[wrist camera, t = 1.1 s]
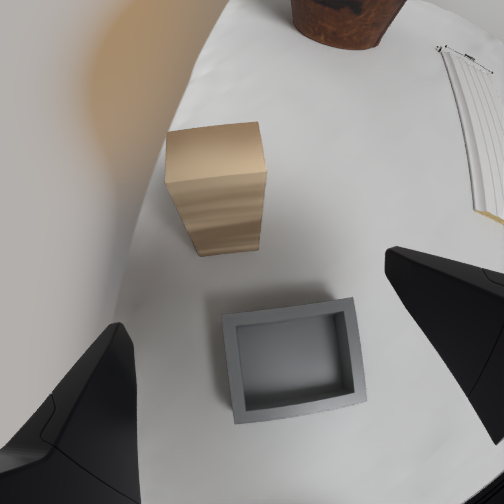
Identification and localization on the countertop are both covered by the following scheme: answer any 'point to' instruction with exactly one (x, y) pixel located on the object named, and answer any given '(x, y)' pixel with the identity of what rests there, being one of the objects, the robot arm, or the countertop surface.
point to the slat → (218, 185)
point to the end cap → (293, 360)
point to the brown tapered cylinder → (345, 21)
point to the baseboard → (480, 133)
